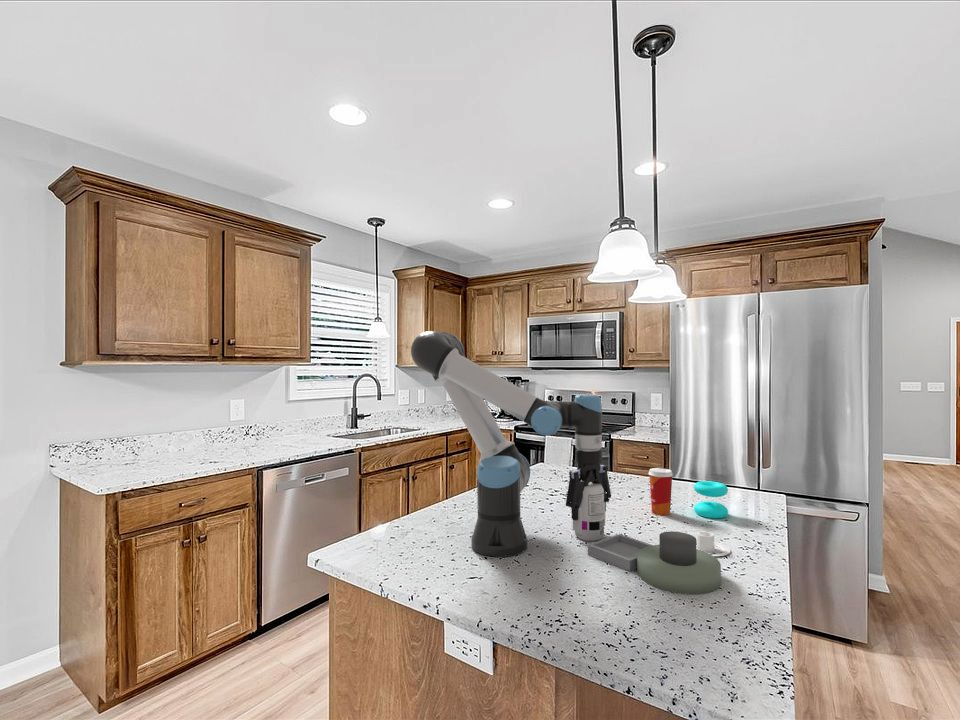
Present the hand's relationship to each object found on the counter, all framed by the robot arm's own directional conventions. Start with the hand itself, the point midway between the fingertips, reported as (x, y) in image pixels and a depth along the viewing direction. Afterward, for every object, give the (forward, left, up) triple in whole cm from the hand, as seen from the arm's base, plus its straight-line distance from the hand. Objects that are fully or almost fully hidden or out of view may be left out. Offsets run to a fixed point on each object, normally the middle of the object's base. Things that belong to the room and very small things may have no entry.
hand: (589, 527), depth 142 cm
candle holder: (+17, -25, -3) cm, 30 cm away
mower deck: (-4, -24, -3) cm, 24 cm away
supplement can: (0, 0, -3) cm, 3 cm away
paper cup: (+35, 0, -3) cm, 35 cm away
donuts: (+46, -11, -3) cm, 47 cm away
